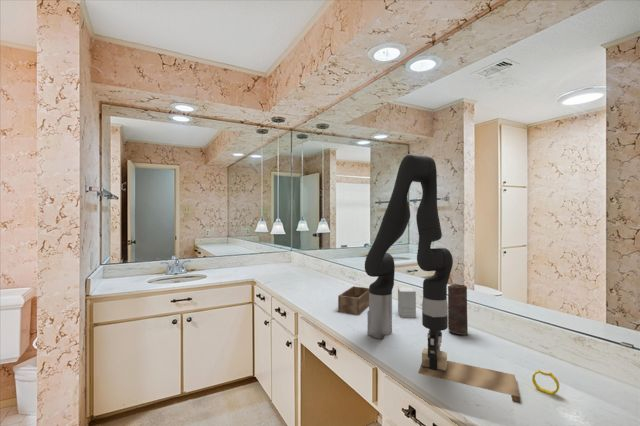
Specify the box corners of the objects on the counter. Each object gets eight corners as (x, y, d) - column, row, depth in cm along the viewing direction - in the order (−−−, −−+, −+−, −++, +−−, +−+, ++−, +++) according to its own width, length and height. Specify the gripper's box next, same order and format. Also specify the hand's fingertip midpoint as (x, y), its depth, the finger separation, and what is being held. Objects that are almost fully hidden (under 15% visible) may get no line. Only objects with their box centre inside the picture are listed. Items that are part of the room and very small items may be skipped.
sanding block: (421, 367, 95) (421, 352, 95) (423, 361, 99) (423, 347, 99) (445, 372, 92) (445, 357, 92) (446, 366, 95) (446, 352, 95)
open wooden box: (338, 311, 151) (338, 295, 151) (353, 300, 170) (353, 286, 170) (359, 315, 146) (359, 298, 146) (372, 303, 165) (372, 288, 165)
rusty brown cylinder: (455, 337, 120) (456, 287, 120) (443, 330, 128) (443, 283, 127) (471, 335, 123) (471, 286, 122) (458, 328, 130) (459, 282, 129)
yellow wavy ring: (532, 390, 86) (530, 368, 86) (534, 386, 88) (533, 365, 88) (558, 398, 81) (556, 375, 82) (560, 394, 83) (558, 372, 84)
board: (418, 377, 92) (418, 372, 92) (423, 360, 102) (423, 355, 102) (520, 402, 80) (520, 396, 80) (514, 379, 91) (514, 374, 91)
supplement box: (412, 312, 150) (412, 287, 149) (416, 318, 142) (416, 291, 142) (397, 312, 150) (397, 287, 150) (400, 317, 143) (400, 291, 143)
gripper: (425, 303, 103) (425, 351, 103) (418, 317, 90) (418, 371, 91) (449, 306, 100) (449, 356, 100) (445, 321, 87) (445, 377, 87)
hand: (434, 363), depth 95 cm, fingers open, 7 cm apart
